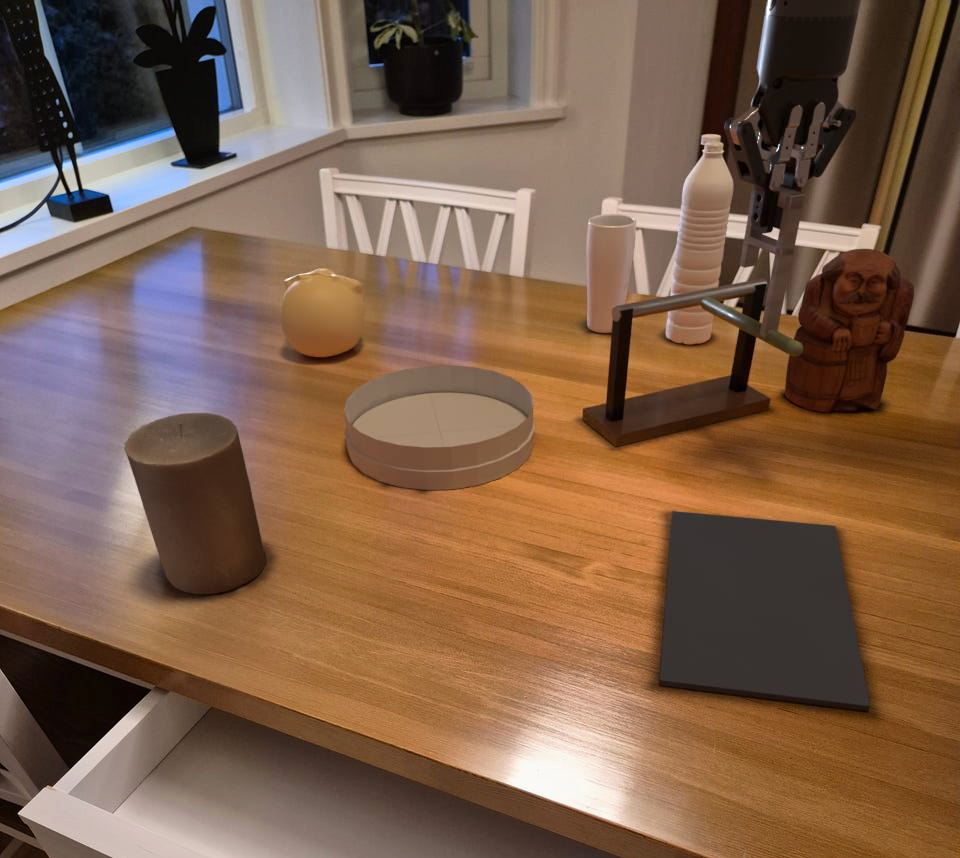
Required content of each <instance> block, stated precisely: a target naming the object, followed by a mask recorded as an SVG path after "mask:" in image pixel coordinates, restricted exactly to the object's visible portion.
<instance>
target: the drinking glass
mask: <svg viewBox="0 0 960 858" xmlns="http://www.w3.org/2000/svg"><path fill="white" fill-rule="evenodd" d="M586 231H587V232H586V246H585V263H586V265H585V267H586V306H587V309H586V310H587V312H586V313H587V314H586V326H587V328H588V329H589V330H590V331H592V332H595V333H598V334H612V322H613V318H612V308H613V307H614V306H618V305H624V304H627V303H626V302H627V297H628V290H629V285H630V278H631V273H632V267H633V260H634V256H635V255H634V254H635V248H636V236H637V235H636V234H637V220H636V219H635V218H634V217H632V216H630V215H626V214H625V215H624V214H619V213H618V214H616V213H607V214H598V215H594V216H591V217H590V218H589V219H588V221H587V230H586Z"/></svg>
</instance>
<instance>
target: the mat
mask: <svg viewBox="0 0 960 858" xmlns="http://www.w3.org/2000/svg"><path fill="white" fill-rule="evenodd" d="M669 532H670V533H669V545H668V546H669V547H668V557H667V558H668V559H667V570H666V571H667V572H666V586H665V599H664V613H663V615H664V616H663V624H662V625H663V627H662V640H661V651H660V652H661V654H660V666H659V667H660V668H659V679H658V685H659V686H662V687H668V688H669V687H670V688H678V689H685V690H694V691H701V692H702V691H703V692H709V693H719V694H726V695H734V696H741V697H742V696H743V697H751V698H756V699H757V698H758V699H766V700H773V701H782V702H790V703H797V704H805V705H813V706H824V707H829V708H839V709H846V710H854V711H862V712H869V711H870V708H871V702H870V697H869V692H868V687H867V682H866V677H865V672H864V668H863V661H862V656H861V650H860V646H859V641H858V636H857V630H856V625H855V620H854V614H853V609H852V604H851V599H850V594H849V588H848V583H847V578H846V573H845V567H844V562H843V557H842V552H841V547H840V542H839V537H838V531H837V527H836V525H832V524H820V523H819V524H818V523H809V522H797V521H789V520H788V521H785V520H775V519H765V518H754V517H743V516H731V515H721V514H708V513H701V512H699V513H698V512H687V511H675V510H672V511H671V518H670V531H669Z"/></svg>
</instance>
